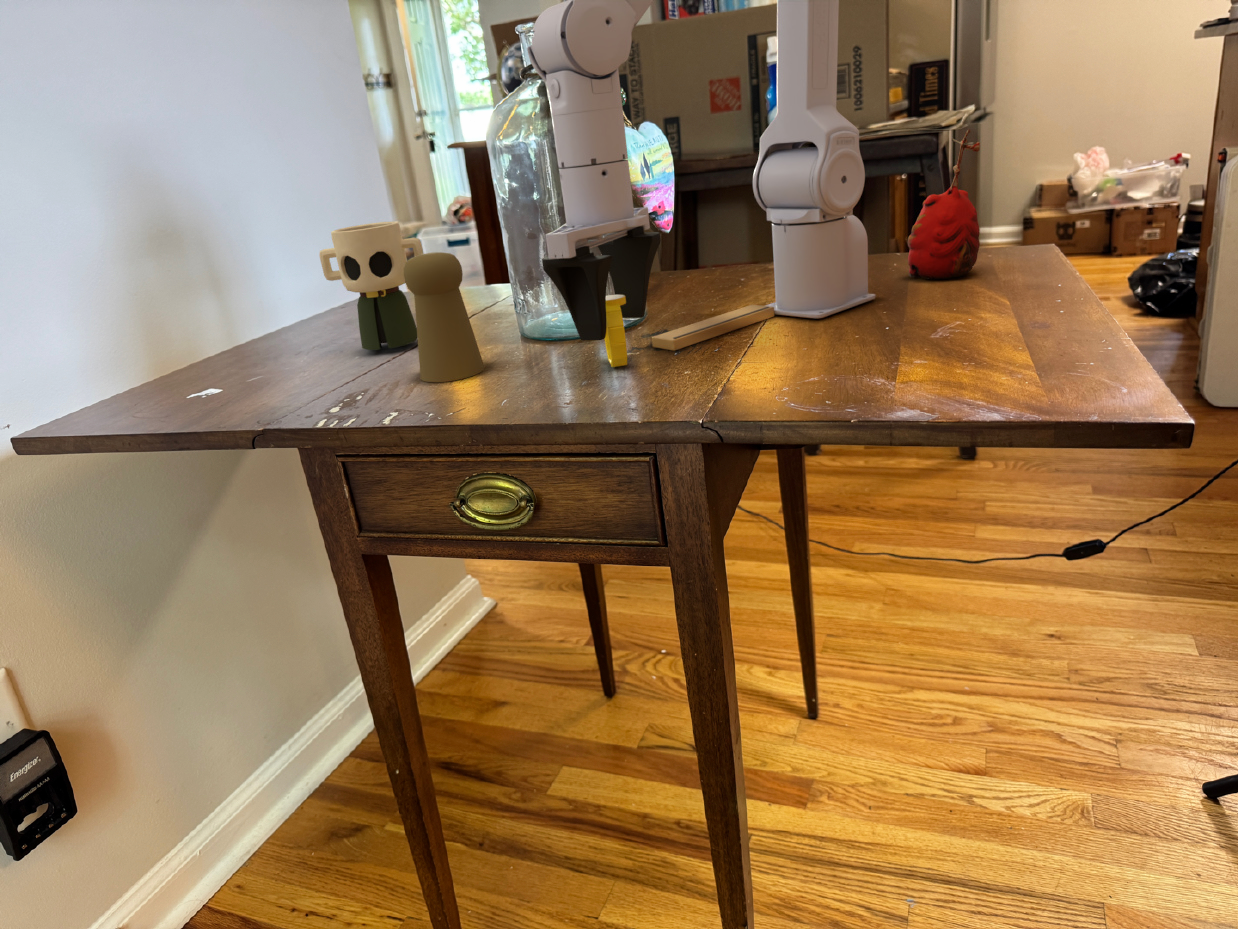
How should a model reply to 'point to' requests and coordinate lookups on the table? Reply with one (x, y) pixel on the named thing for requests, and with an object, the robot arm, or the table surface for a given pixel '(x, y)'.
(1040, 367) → the table surface
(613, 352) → the watch
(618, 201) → the robot arm
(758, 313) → the ruler
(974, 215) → the red bumpy oval piece
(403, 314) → the character mug
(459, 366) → the cork
